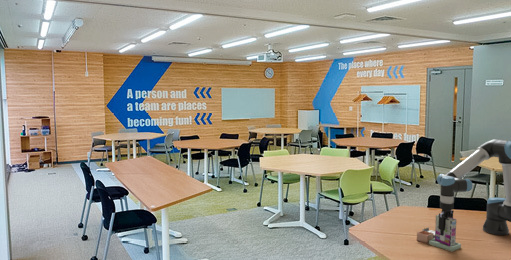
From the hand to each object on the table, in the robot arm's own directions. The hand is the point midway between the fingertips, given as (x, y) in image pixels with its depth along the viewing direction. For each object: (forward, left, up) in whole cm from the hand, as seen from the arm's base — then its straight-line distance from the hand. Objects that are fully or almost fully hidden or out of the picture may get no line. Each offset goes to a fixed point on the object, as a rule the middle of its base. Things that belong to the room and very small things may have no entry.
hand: (445, 239), depth 240 cm
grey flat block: (-9, -10, -2) cm, 14 cm away
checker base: (-9, -10, -4) cm, 14 cm away
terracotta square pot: (+2, -12, -4) cm, 13 cm away
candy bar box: (0, 0, -3) cm, 3 cm away
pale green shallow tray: (0, 0, -4) cm, 4 cm away
